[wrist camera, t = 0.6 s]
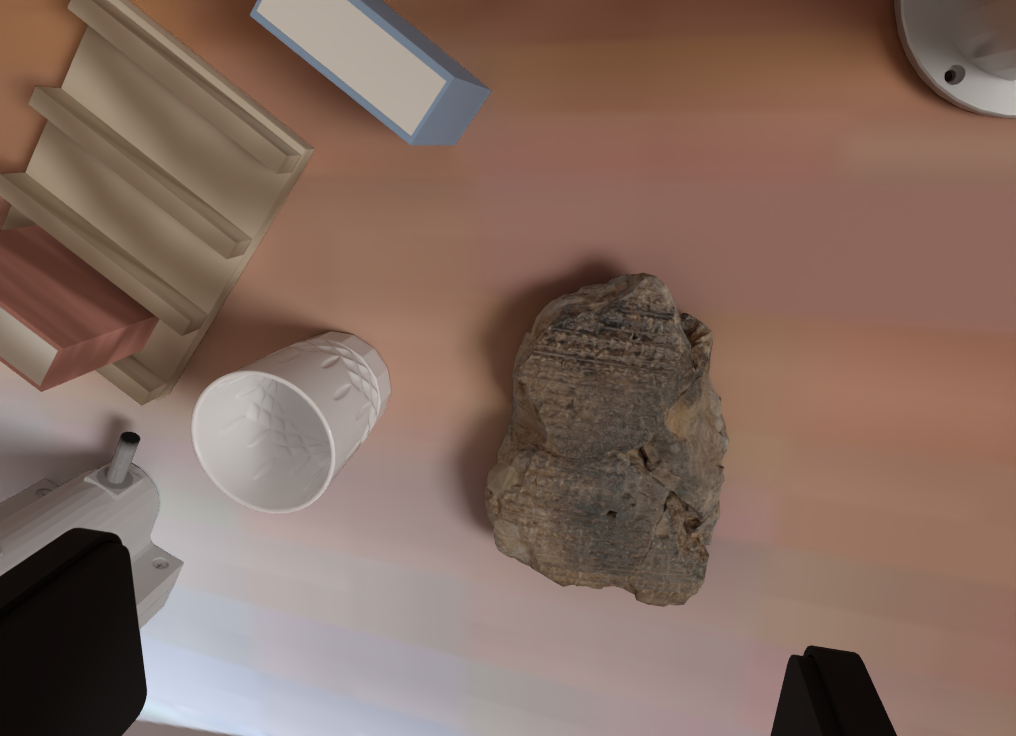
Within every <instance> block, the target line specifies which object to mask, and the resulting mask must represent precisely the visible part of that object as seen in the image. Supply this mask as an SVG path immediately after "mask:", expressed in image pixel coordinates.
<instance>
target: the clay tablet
mask: <svg viewBox="0 0 1016 736" xmlns="http://www.w3.org/2000/svg"><path fill="white" fill-rule="evenodd" d="M712 345H713V341H712V331H711V330H710V329H709V328H708V327H706V326H705V325H704V324H703V323H702V322H700V321H698V320H697V319H695V318H694V317H692V316H691V315H689V314H686V313H683V314H681V315H679V313H678V311H677V309H676V306H675V304H674V301H673V298H672V296H671V293H670V291H669V289H668V288H667V286H666V285H665V284H664V283H663V282H661V281H660V280H659V279H658V278H657V277H655V276H653V275H649V274H646V273H640V274H629V275H621V276H617V277H613V278H612V279H611V280H610V281H609V282H608V283H607V284H603V283H600V284H594V285H587V286H584V287H580V289H579V290H578V291H577V292H574V293H572V294H564V295H562V296H560V297H559V298H557V299H554V300H552V301H551V302H550V303H549V304H548V305H546V306H545V307H544V308H543V309H542V310H541V312H540V313H539V314H538V315H537V317H536V319H535V322H534V325H533V327H532V331H531V333H529V332H526V334H525V336H524V338H523V341H522V343H521V345H520V347H519V350H518V352H517V355H516V357H515V362H514V368H513V373H512V379H513V384H514V387H513V397H512V404H513V415H512V418H511V420H510V422H509V425H508V428H507V431H506V436H505V439H504V441H503V443H502V445H501V447H500V449H499V452H498V454H497V464H496V465H494V466H493V467H491V469H490V470H489V472H488V476H487V480H486V485H485V492H484V506H485V509H486V512H487V515H488V518H489V520H490V522H491V524H492V526H493V531H494V532H495V534H494V538H495V544H496V546H497V548H498V550H499V551H500V552H502V553H503V554H505V555H507V556H509V557H511V558H515V559H517V560H518V561H519V562H521V563H523V564H526V565H528V566H530V567H531V568H532V569H534V570H536V571H537V572H539V573H541V574H542V575H544V576H546V577H547V578H549V579H550V580H552V581H554V582H555V583H557V584H559V585H561V586H563V587H564V586H568V585H576V586H588V587H591V588H595V589H602V588H603V587H608V586H616V587H620V588H624V589H625V590H627V591H629V592H631V593H633V594H635V597H636V600H638V601H640V602H643V603H645V604H648V605H655V606H663V607H664V606H667V605H684V604H685V603H686V601H687V600H688V599H689V598H690V597H691V596H693V595H695V594H696V593H697V592H698V591H699V589H700V587H701V586H702V584H703V582H704V578H705V573H706V567H707V562H708V557H709V554H708V552H707V550H706V548H705V545H710V541H711V537H712V533H713V529H714V526H715V524H716V522H717V520H718V519H719V517H720V507H719V494H720V490H721V486H722V483H723V482H724V481H725V480H724V476H723V470H724V467H723V466H721V463H722V459H723V457H724V455H725V453H726V451H727V449H726V447H727V444H728V441H729V438H728V436H727V432H726V427H725V422H724V419H723V417H722V414H721V398H720V397H719V396H718V395H717V394H716V393H715V392H714V391H713V388H712V385H711V382H710V379H709V368H710V355H711V350H712Z"/></svg>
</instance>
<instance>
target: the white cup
mask: <svg viewBox="0 0 1016 736" xmlns="http://www.w3.org/2000/svg"><path fill="white" fill-rule="evenodd" d="M390 393H391V387H390V381H389V375H388V369H387V367H386V366H385V364H384V363H383V361H382V359H381V358H380V356H379V355H378V353H377V352H376V350H375V349H374V348H373V347H371V346H370V345H368V344H367V343H365V342H364V341H362V340H361V339H359V338H358V337H356V336H355V335H351V334H345V333H339V332H333V331H330V332H327V333H324V334H320V335H317V336H314V337H311V338H308V339H306V340H304V341H300V342H297V343H294V344H292V345H290V346H287V347H285V348H282V349H280V350H278V351H275V352H273V353H271V354H269V355H267V356H264V357H262V358H260V359H258V360H256V361H254V362H252V363H250V364H248V365H246V366H243V367H241V368H239V369H237V370H235V371H232V372H230V373H228V374H226V375H224V376H222V377H220V378H218V379H216V380H215V381H213V382H212V383H211V384H210V385H208V386H207V387H206V388H205V390H204V391H203V392H202V393H201V395H200V396H199V398H198V400H197V402H196V404H195V406H194V409H193V413H192V418H191V438H192V444H193V448H194V451H195V454H196V457H197V459H198V461H199V463H200V465H201V467H202V469H203V470H204V472H205V473H206V475H207V476H208V478H209V479H210V480H211V481H212V482H213V484H214V485H215V486H216V487H217V488H218V489H219V490H220V491H222V492H223V493H224V494H225V495H227V496H228V497H229V498H231V499H232V500H234V501H235V502H237V503H239V504H241V505H243V506H245V507H247V508H250V509H253V510H256V511H260V512H264V513H272V514H282V513H290V512H294V511H298V510H300V509H303V508H305V507H307V506H309V505H310V504H312V503H313V502H314V501H316V500H317V499H318V498H319V497H320V496H321V495H322V494H323V492H324V491H325V490H326V489H327V487H328V486H329V485H330V484H331V482H332V481H333V480H334V478H335V477H336V476H337V475H338V473H339V472H340V471H341V470H342V468H343V467H344V466H345V465H346V463H347V462H348V461H349V460H350V458H351V457H352V456H353V455H354V453H355V452H356V451H357V450H358V448H359V447H360V445H361V444H362V443H363V441H364V440H365V439H366V437H367V436H368V435H369V433H370V431H371V429H372V428H373V426H374V424H375V423H376V422H377V421H378V419H379V418H380V417H381V416H382V415H383V413H384V412H385V409H386V406H387V403H388V400H389V397H390Z"/></svg>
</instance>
